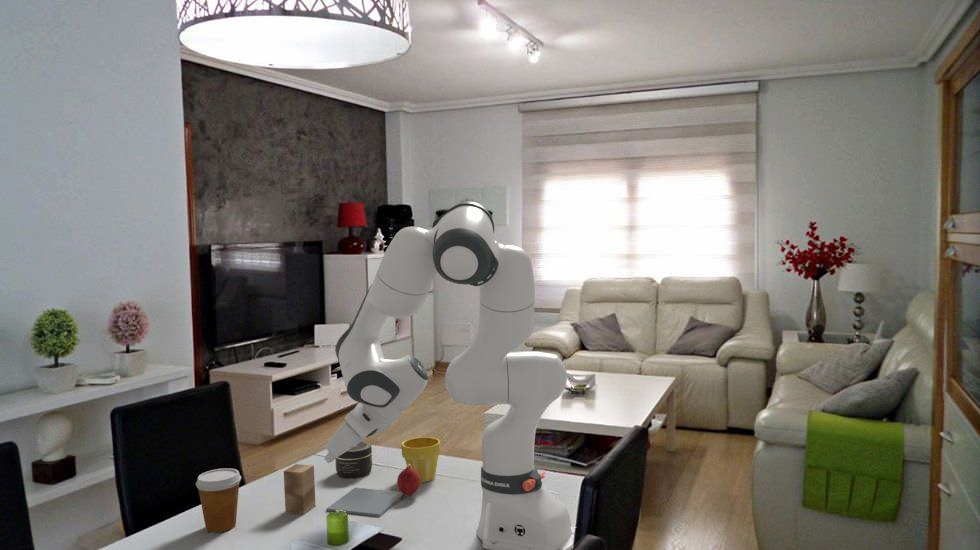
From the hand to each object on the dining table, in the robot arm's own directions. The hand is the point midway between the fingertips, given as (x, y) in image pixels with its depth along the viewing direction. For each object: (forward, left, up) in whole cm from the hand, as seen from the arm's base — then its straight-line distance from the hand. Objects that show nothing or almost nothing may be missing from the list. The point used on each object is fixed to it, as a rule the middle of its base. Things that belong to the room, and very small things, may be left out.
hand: (338, 453), depth 159 cm
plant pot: (-1, -29, -15) cm, 32 cm away
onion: (-7, -17, -15) cm, 23 cm away
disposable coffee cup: (+19, +18, -15) cm, 30 cm away
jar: (+18, -23, -15) cm, 32 cm away
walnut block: (+11, +2, -15) cm, 18 cm away
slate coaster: (0, -9, -14) cm, 17 cm away
